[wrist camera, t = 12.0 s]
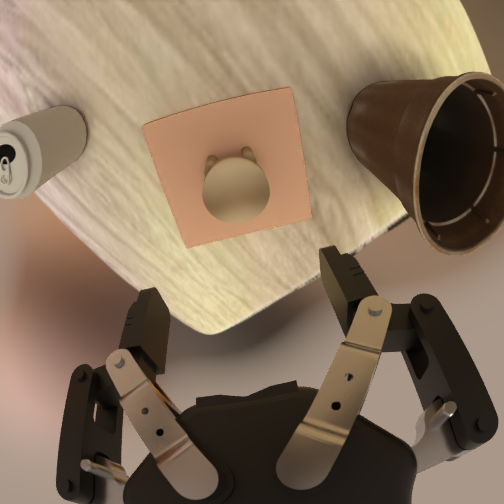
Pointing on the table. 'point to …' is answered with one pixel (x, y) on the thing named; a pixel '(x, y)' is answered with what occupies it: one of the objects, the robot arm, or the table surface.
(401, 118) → the plant pot
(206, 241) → the mat
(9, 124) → the can
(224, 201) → the stool
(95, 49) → the table surface
